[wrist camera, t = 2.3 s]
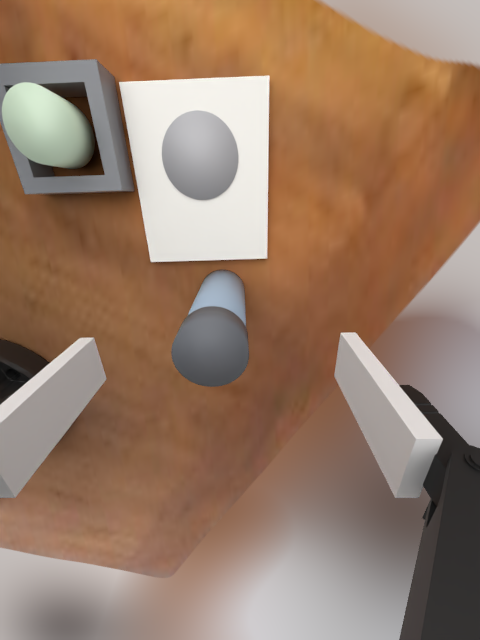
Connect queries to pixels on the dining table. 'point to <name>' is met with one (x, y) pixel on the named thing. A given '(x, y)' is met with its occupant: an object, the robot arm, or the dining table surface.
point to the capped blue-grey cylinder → (214, 333)
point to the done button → (47, 127)
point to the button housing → (107, 121)
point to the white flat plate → (201, 165)
